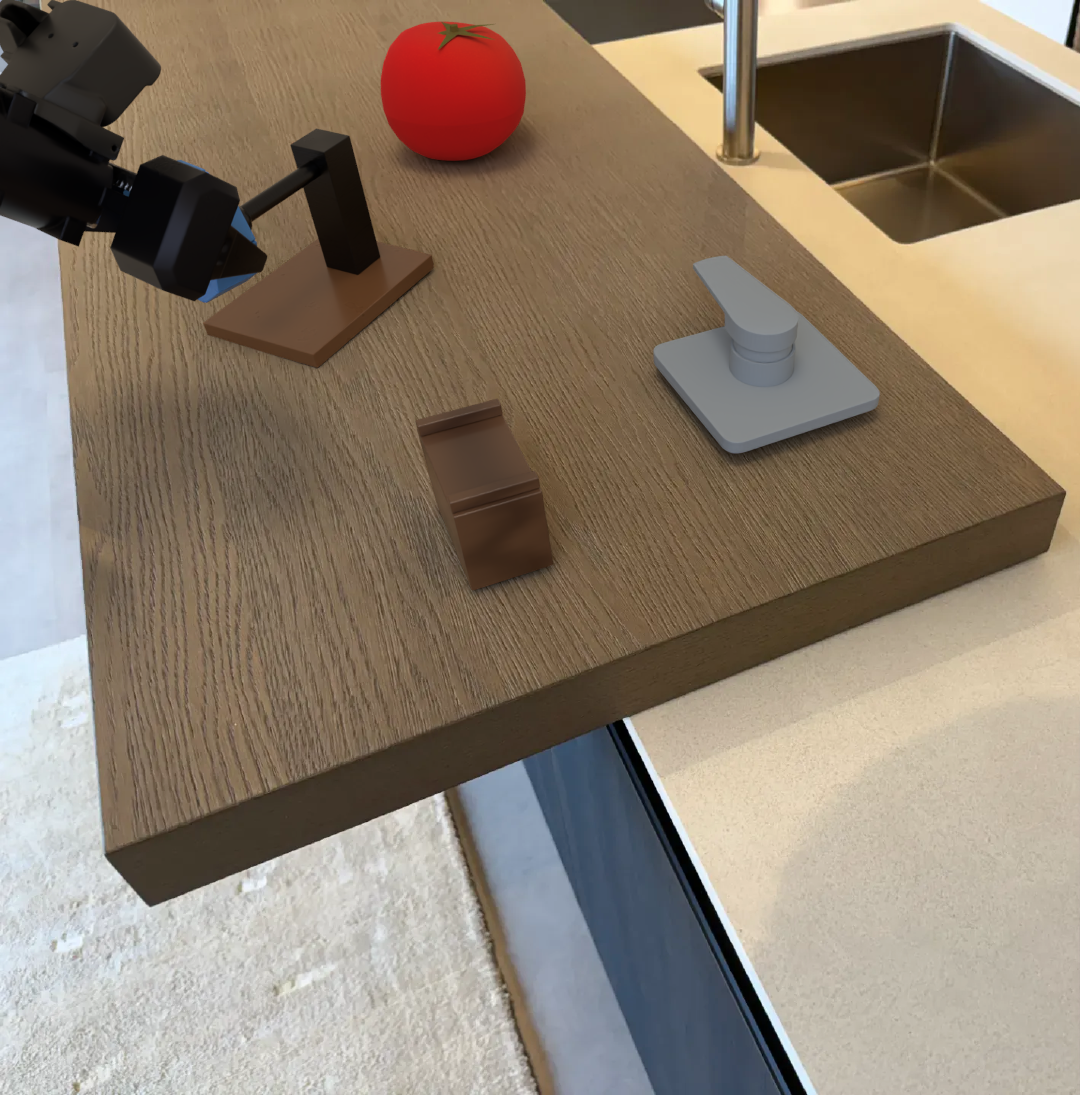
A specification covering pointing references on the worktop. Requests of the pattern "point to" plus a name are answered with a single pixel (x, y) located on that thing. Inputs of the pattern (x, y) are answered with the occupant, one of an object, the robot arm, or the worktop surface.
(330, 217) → the hook stand
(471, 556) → the tape cradle
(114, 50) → the robot arm
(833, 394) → the shower valve
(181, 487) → the worktop surface
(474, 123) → the tomato
